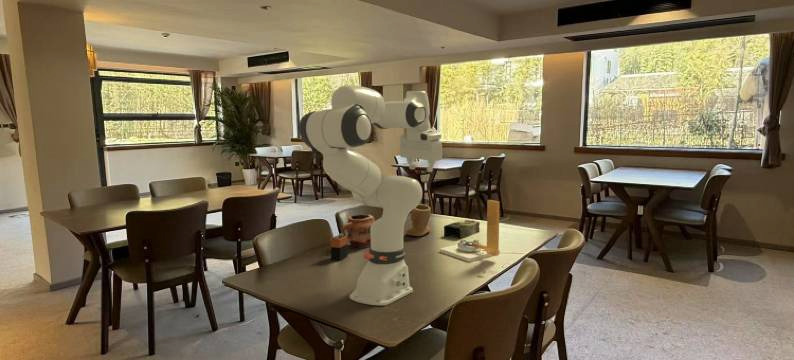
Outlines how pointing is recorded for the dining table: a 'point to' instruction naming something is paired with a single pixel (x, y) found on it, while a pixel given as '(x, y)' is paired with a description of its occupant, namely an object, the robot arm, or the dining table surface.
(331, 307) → the dining table surface
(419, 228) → the stone cup
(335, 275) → the dining table surface
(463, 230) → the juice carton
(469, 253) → the base plate
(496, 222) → the orange post with disc
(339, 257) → the battery
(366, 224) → the decorative planter
